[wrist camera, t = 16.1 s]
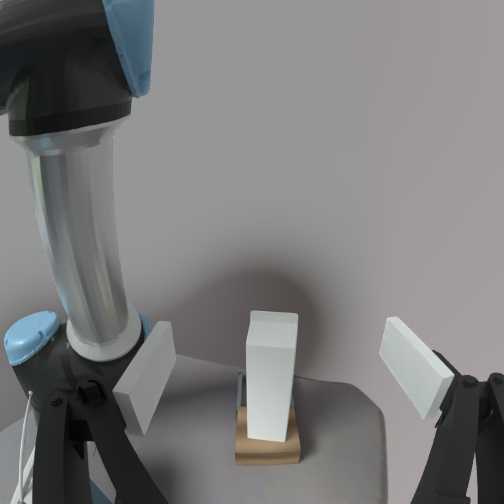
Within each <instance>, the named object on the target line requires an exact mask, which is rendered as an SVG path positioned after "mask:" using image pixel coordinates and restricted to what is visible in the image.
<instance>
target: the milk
mask: <svg viewBox="0 0 504 504" xmlns="http://www.w3.org/2000/svg"><path fill="white" fill-rule="evenodd" d="M297 329H298V315H297V314H296V313H279V312H266V311H252V312H251V322H250V327H249V332H248V336H247V341H246V377H247V430H248V438H251V439H259V440H267V441H277V442H285V439H286V432H287V426H288V419H289V411H290V403H291V394H292V385H293V375H294V365H295V354H296V342H297Z"/></svg>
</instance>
